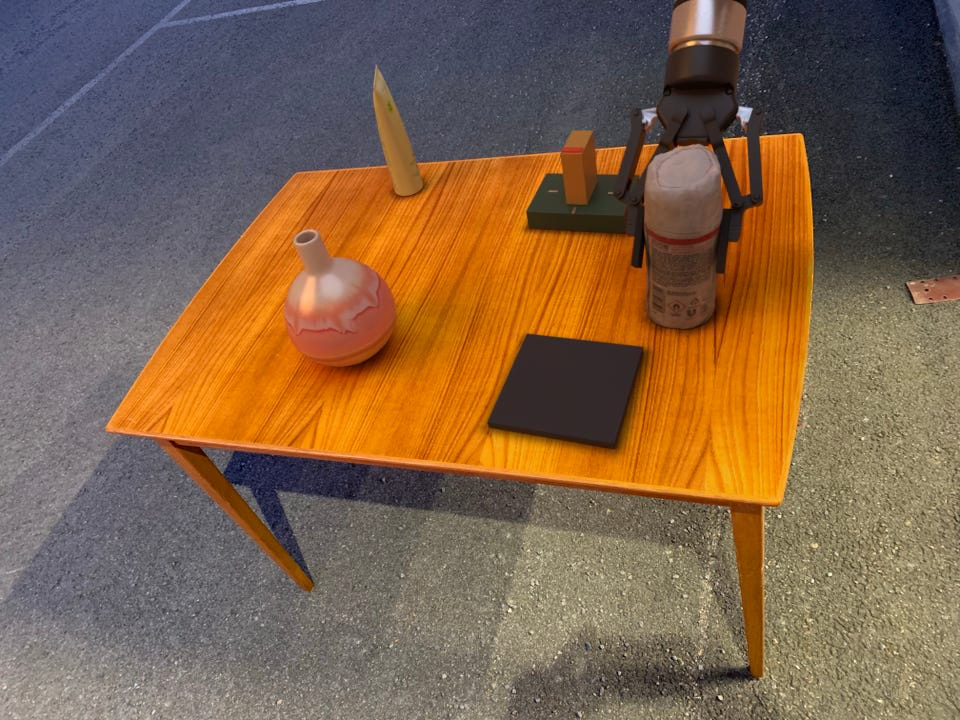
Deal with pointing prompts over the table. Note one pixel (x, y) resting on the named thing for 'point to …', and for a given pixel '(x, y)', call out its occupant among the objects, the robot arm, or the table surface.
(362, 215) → the table surface
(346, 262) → the vase
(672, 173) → the spray can
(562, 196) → the green rectangular block
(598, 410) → the mat
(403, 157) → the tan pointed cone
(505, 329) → the table surface
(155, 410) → the table surface
